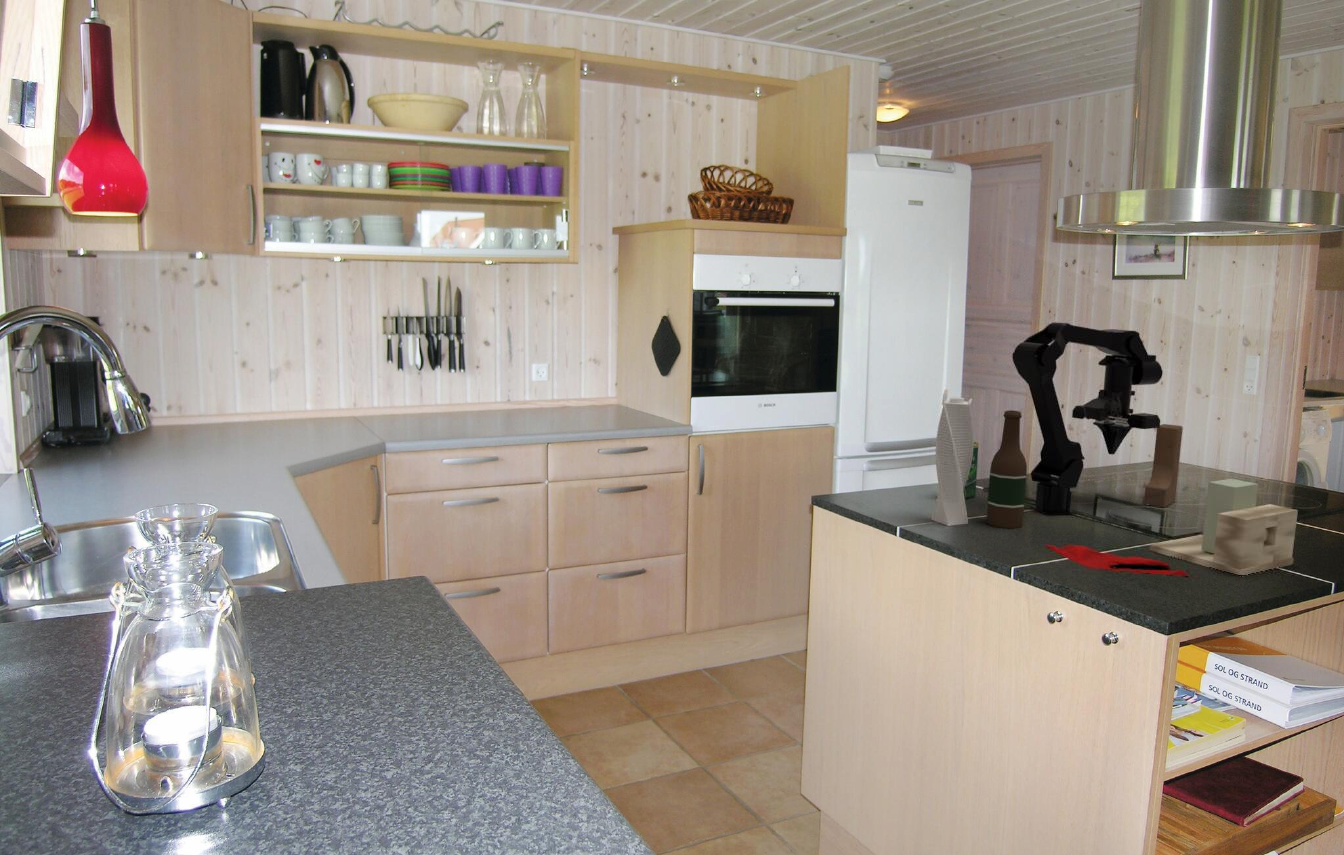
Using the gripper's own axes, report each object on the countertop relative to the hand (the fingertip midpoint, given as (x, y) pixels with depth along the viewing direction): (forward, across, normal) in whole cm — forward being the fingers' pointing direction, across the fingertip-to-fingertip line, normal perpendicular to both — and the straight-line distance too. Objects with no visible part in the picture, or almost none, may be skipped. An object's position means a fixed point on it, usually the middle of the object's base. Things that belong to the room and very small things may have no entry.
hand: (1111, 454), depth 216 cm
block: (+10, +39, -16) cm, 44 cm away
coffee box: (+12, -20, -26) cm, 35 cm away
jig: (+12, +37, -16) cm, 42 cm away
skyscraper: (+12, -5, -44) cm, 46 cm away
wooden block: (+12, +4, +14) cm, 19 cm away
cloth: (+13, +29, -38) cm, 49 cm away
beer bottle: (+12, +1, -34) cm, 37 cm away
